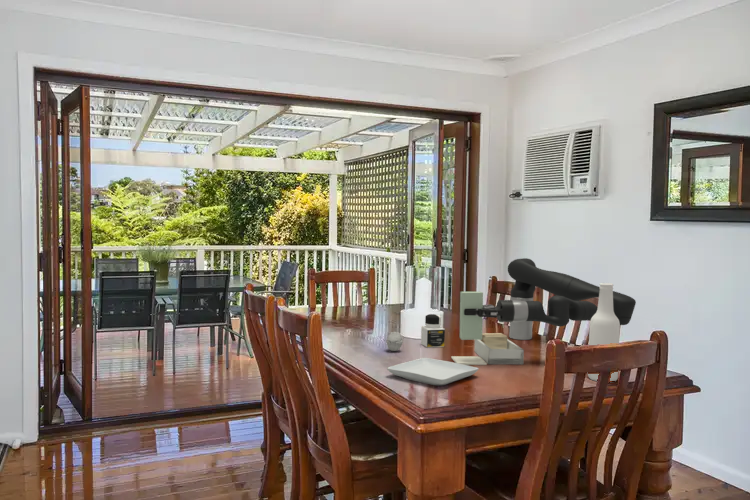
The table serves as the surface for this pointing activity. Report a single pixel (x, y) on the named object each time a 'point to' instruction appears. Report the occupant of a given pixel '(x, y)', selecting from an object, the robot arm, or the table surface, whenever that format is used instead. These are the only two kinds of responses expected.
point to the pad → (469, 360)
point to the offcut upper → (494, 338)
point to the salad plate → (432, 371)
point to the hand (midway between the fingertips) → (463, 311)
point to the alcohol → (604, 323)
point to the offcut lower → (496, 345)
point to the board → (470, 316)
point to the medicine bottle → (432, 332)
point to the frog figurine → (394, 341)
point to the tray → (500, 353)
